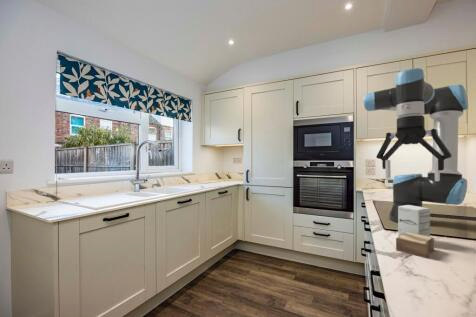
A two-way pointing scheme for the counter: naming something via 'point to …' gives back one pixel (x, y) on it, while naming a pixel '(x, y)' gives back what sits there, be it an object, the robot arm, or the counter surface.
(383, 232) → the counter surface
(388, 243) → the counter surface
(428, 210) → the supplement box
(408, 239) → the brown wooden block
